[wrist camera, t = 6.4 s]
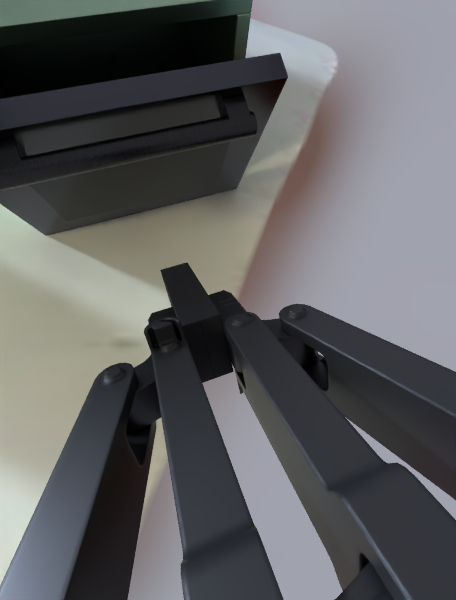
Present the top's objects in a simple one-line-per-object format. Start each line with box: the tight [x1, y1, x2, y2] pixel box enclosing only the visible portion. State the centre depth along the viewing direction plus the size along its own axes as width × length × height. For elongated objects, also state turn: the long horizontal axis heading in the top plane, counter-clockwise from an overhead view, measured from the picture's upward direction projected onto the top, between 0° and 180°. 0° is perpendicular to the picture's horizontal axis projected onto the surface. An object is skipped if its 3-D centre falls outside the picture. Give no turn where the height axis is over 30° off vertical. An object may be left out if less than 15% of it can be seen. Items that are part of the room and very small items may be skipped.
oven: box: [0, 0, 252, 99], centre depth 28 cm, size 16×20×16 cm
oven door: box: [0, 53, 288, 235], centre depth 25 cm, size 4×20×16 cm, turn 110°
